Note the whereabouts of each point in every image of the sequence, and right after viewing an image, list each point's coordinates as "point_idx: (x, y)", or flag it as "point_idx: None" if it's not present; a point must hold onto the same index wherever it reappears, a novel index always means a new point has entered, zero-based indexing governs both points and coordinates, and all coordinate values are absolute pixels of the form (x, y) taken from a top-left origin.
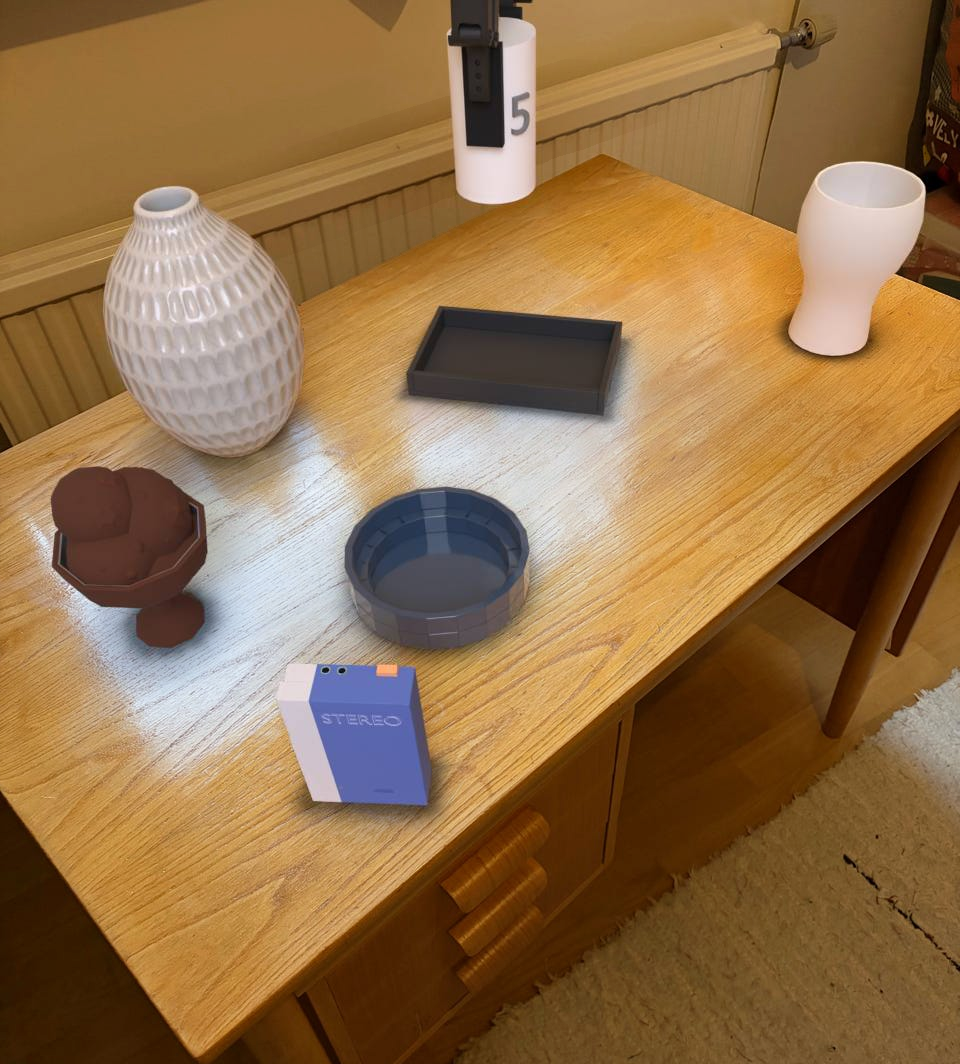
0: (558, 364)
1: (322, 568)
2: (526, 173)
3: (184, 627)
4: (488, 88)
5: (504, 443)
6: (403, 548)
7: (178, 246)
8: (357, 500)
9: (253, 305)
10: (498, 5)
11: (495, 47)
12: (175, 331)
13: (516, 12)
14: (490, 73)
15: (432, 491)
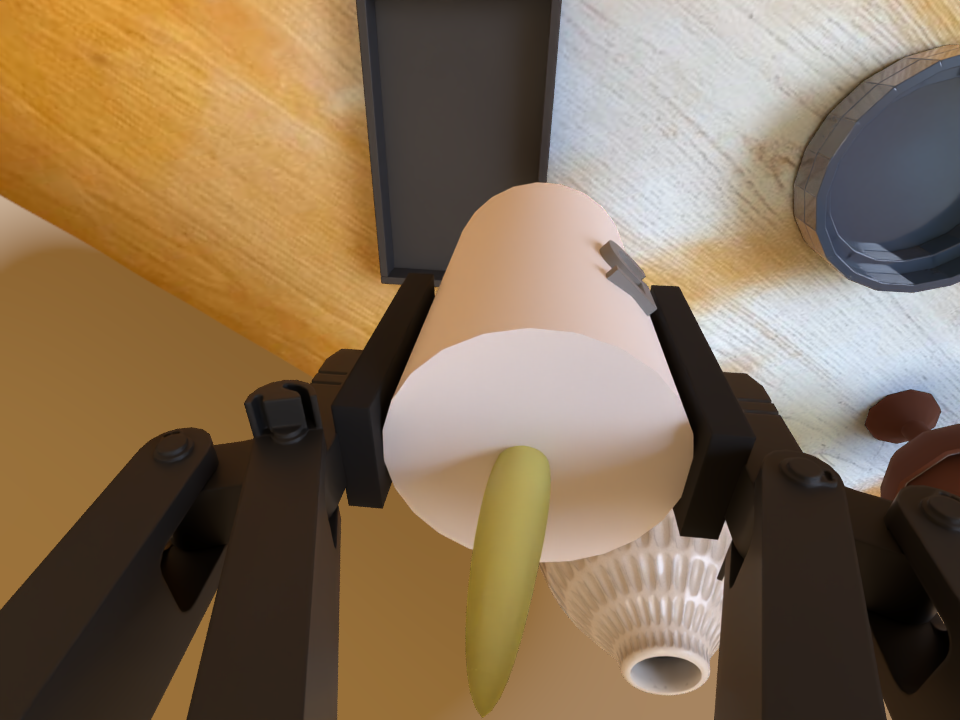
0: (452, 87)
1: (850, 305)
2: (590, 209)
3: (930, 404)
4: (768, 397)
5: (632, 138)
6: (841, 226)
7: (717, 628)
8: (737, 295)
9: None
10: (781, 543)
11: (804, 453)
12: None
13: (372, 415)
14: (745, 414)
15: (824, 212)
